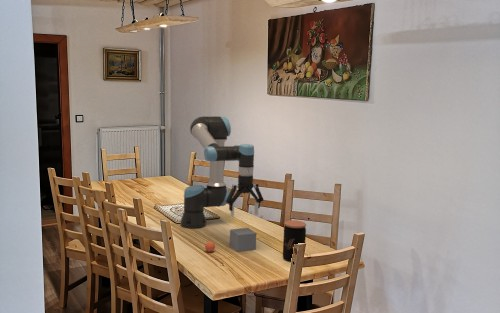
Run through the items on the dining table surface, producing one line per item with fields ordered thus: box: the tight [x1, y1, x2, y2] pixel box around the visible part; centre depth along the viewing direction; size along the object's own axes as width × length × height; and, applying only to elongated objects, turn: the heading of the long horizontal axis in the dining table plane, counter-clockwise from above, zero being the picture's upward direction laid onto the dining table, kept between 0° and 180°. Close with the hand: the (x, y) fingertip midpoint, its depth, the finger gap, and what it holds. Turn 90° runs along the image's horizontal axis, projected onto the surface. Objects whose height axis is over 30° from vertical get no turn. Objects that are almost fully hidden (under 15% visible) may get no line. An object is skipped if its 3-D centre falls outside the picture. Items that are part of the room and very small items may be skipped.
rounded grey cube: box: [229, 227, 257, 253], centre depth 246 cm, size 10×10×9 cm
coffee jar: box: [282, 219, 307, 263], centre depth 232 cm, size 11×11×18 cm
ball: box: [204, 241, 216, 253], centre depth 239 cm, size 5×5×5 cm
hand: (244, 215), depth 244 cm, fingers open, 13 cm apart
